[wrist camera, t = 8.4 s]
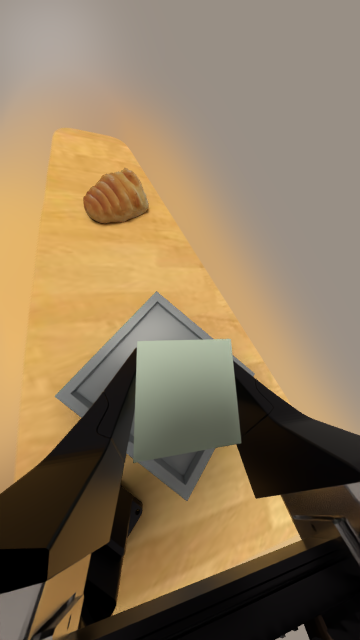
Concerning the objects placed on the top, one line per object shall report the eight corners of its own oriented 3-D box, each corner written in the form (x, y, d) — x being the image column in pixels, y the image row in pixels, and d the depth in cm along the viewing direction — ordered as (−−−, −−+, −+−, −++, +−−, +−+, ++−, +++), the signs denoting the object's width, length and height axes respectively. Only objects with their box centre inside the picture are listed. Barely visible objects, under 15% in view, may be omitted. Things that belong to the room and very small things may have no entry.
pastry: (105, 236, 20) (94, 212, 16) (77, 205, 20) (60, 174, 17) (152, 212, 23) (151, 186, 19) (127, 185, 23) (121, 154, 19)
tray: (183, 482, 16) (187, 501, 14) (67, 389, 15) (54, 396, 13) (245, 371, 20) (254, 373, 18) (156, 296, 20) (156, 291, 18)
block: (181, 373, 17) (241, 443, 5) (150, 375, 16) (133, 463, 4) (180, 343, 18) (230, 339, 6) (151, 343, 17) (137, 341, 5)
